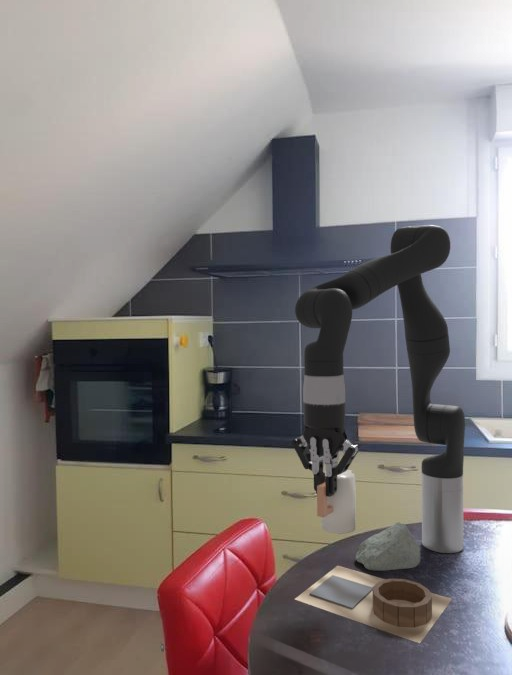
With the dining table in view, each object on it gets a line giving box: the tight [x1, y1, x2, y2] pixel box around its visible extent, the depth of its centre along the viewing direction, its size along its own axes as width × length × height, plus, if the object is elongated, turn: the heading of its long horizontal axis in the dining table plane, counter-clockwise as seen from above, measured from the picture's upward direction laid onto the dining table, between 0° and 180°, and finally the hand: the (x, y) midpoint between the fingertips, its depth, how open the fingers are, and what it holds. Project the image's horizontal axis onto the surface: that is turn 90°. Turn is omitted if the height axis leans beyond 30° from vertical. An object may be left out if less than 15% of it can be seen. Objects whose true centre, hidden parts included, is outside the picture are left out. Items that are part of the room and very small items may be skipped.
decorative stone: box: [355, 522, 422, 571], centre depth 116 cm, size 13×11×10 cm
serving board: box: [294, 565, 453, 645], centre depth 101 cm, size 17×24×5 cm
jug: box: [316, 469, 357, 535], centre depth 101 cm, size 11×6×10 cm, turn 143°
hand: (325, 494), depth 98 cm, fingers closed on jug
